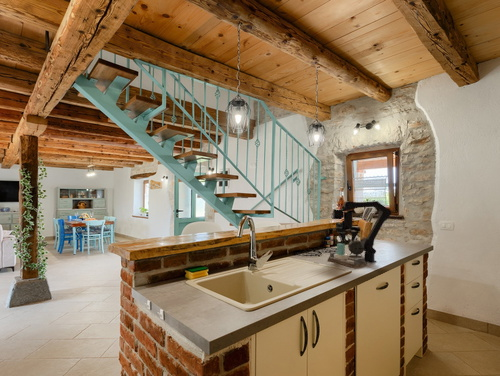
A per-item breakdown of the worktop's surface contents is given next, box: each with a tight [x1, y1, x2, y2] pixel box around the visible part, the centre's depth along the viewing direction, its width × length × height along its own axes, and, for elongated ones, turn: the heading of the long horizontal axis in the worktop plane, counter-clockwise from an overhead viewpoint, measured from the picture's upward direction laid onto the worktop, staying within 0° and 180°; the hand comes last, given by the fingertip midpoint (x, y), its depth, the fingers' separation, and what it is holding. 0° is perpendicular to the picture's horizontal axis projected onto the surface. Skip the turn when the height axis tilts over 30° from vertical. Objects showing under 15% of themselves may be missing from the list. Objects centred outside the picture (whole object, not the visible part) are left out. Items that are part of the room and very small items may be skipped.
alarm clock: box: [347, 233, 365, 257], centre depth 210 cm, size 11×5×16 cm, turn 84°
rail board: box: [327, 251, 368, 269], centre depth 188 cm, size 12×22×5 cm, turn 29°
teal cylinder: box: [334, 243, 349, 260], centre depth 192 cm, size 7×6×10 cm
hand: (348, 241), depth 194 cm, fingers open, 9 cm apart
